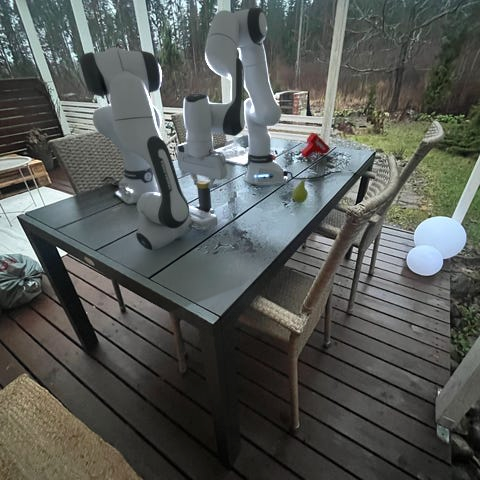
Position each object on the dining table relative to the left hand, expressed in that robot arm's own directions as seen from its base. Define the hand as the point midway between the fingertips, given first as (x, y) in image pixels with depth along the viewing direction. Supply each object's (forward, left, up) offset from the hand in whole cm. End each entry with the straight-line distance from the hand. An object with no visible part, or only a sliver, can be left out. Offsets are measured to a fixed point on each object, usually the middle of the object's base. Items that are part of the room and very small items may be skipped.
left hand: (207, 208), depth 105 cm
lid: (0, -1, +11) cm, 11 cm away
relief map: (-47, +78, -5) cm, 91 cm away
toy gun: (-2, +109, -5) cm, 109 cm away
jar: (0, -1, -5) cm, 5 cm away
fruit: (+22, +37, -5) cm, 43 cm away
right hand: (0, -1, +9) cm, 9 cm away
